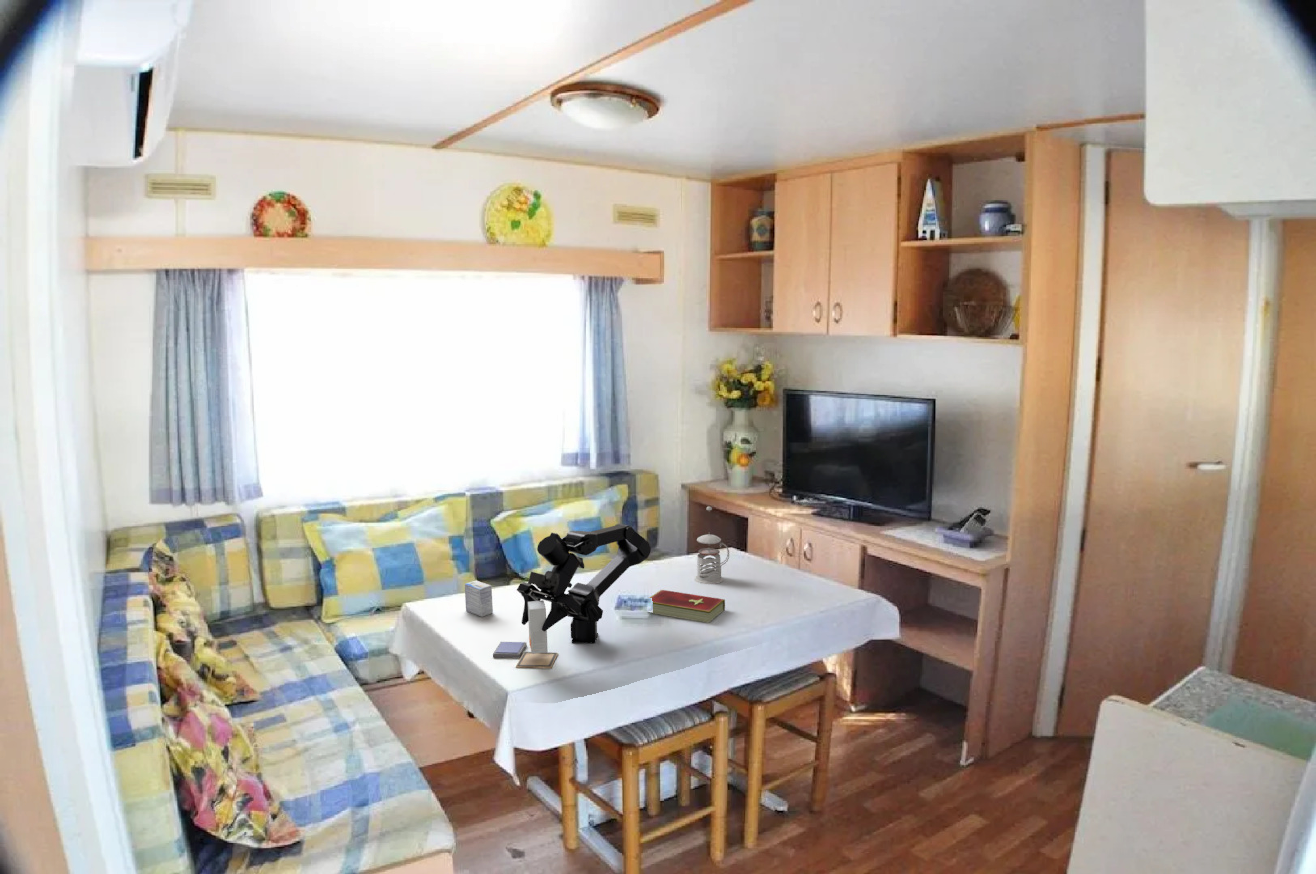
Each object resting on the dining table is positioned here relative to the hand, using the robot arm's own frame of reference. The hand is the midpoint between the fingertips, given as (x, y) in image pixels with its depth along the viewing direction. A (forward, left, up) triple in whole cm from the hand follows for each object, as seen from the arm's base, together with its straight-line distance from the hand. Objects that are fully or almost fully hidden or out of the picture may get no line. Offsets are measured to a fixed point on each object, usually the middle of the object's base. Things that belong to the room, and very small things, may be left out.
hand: (532, 627), depth 214 cm
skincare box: (-1, -1, -7) cm, 7 cm away
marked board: (-1, -1, -9) cm, 9 cm away
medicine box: (+24, -35, -10) cm, 44 cm away
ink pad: (+8, -7, -9) cm, 14 cm away
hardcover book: (-37, -39, -10) cm, 55 cm away
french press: (-45, -70, -10) cm, 84 cm away
